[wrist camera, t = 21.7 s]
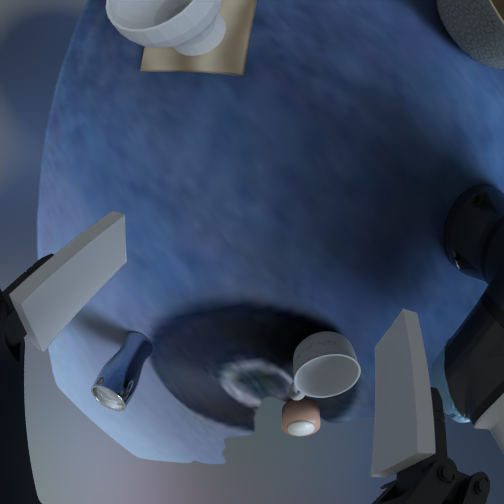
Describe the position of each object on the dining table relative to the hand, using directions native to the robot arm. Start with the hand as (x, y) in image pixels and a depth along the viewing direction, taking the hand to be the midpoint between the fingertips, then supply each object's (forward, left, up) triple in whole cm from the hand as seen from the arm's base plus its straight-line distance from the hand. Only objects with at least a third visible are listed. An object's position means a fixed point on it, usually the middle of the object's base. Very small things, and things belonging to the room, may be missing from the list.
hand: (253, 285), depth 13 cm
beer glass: (+20, +35, -29) cm, 49 cm away
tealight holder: (-15, +46, -28) cm, 56 cm away
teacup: (-13, +28, -29) cm, 42 cm away
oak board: (+13, -19, -28) cm, 36 cm away
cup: (+13, -19, -27) cm, 35 cm away
